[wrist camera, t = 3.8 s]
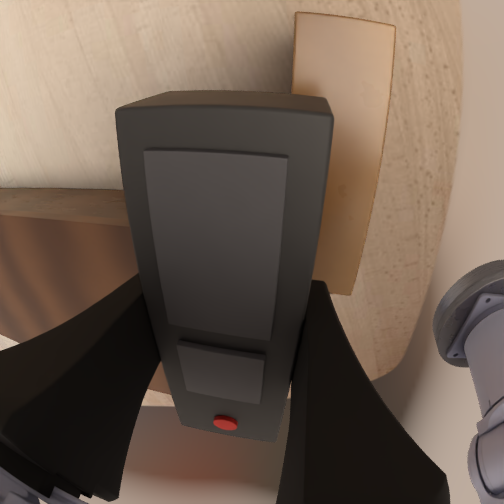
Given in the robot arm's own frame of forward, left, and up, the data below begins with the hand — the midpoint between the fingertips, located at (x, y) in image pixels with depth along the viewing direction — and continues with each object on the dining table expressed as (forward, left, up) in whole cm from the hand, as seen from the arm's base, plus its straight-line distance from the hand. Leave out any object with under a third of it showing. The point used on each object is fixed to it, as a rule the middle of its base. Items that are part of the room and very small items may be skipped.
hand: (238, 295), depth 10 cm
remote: (0, 0, 0) cm, 0 cm away
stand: (-3, -3, -10) cm, 11 cm away
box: (+31, +10, -10) cm, 34 cm away
